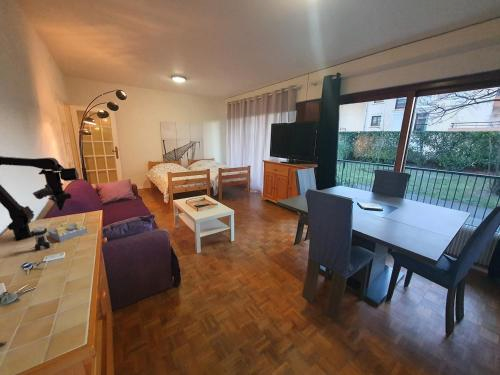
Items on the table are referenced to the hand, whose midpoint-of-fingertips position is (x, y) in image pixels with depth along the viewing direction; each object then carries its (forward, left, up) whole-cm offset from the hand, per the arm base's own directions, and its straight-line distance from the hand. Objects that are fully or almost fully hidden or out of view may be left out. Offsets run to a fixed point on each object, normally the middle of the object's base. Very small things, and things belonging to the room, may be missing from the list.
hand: (60, 210), depth 113 cm
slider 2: (+6, -1, -9) cm, 11 cm away
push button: (+15, -14, -12) cm, 24 cm away
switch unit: (+7, -1, -12) cm, 14 cm away
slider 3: (+11, +3, -9) cm, 15 cm away
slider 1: (+11, -5, -9) cm, 15 cm away
